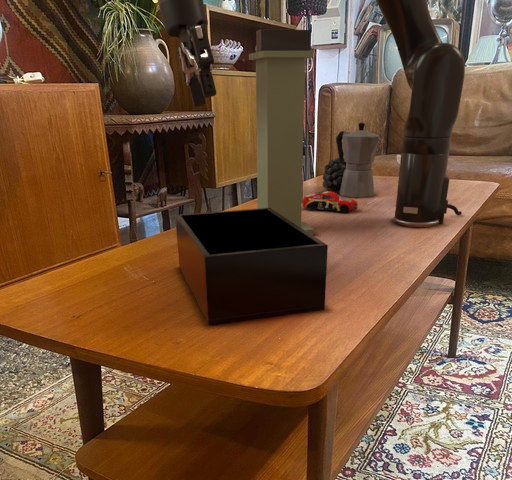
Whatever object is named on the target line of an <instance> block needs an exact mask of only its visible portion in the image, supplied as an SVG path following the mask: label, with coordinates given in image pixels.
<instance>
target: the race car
mask: <svg viewBox="0 0 512 480" xmlns="http://www.w3.org/2000/svg"><path fill="white" fill-rule="evenodd" d="M358 205H359V204H358V201H357V200H356V199H354V198H350V197H344V196H341V195H340V194H339V193H337V192H335V191H334V192H328V191H327V190H326V191H317V192H314V193H310V194H306V195H305V196H303V199H302V207H304V208H307V209H309V210H310V211H316V210H324V211H336V212H341V213H343V214H347V213H348V212H352V211H356V210H357V209H358V207H359V206H358Z"/></svg>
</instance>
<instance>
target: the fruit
mask: <svg viewBox="0 0 512 480" xmlns="http://www.w3.org/2000/svg"><path fill="white" fill-rule="evenodd" d="M343 159H344V157H343ZM345 169H346V164H342V163H340V160H339V157H335V158H334V159H333V160H332V159H331V160H329V161H328V162H327V164H325V165H324V171H323V175H322V180H323V181H322V184H321V185H322V187H323V188H326V191H328V192H335V191H336V192H340V188H341V183H342V179H343V174H344V170H345Z"/></svg>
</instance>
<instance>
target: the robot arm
mask: <svg viewBox="0 0 512 480" xmlns="http://www.w3.org/2000/svg"><path fill="white" fill-rule="evenodd" d="M375 2H376V3H377V7H378V9H379V10H380V13H381V14H382V16H383V19H384V21H385V22H386V24H387V26H388V28H389V30H390V32H391V35H392V37H393V40H394V42H395V46H396V48H397V52H398V55H399V59H400V61H401V65H402V68H403V72H404V76H405V80H406V82H407V85H408V87H409V89H410V90H411V93H410V101H409V108H408V109H409V110H408V114H407V117H406V120H405V121H404V125H403V135H402V142H401V153H400V156H401V162H400V164H399V170H398V171H399V173H398V182H397V190H396V200H395V208H394V209H395V210H394V216H393V222H394V223H395V224H397V225H400V226H404V227H409V228H410V227H411V228H430V227H436V226H439V225H441V226H442V225H444V220H445V215H446V214H447V212H448V209H449V210H452V211H453V212H454V214H455V215H456V216H461V215H462V214H463V211H460V210H459V209H458V208H457V206H455V205H453V204H449V200H448V192H449V186H450V177H449V176H447V171H448V170H447V169H448V163H449V156H450V150H451V142H452V135H453V129H454V126H455V124H456V122H457V119H458V116H459V115H458V114H459V111H460V106H461V99H462V94H463V88H464V82H465V72H466V71H465V70H466V63H465V58H464V55H463V53H462V51H461V50H460V49H459V48H458V47H457V46H456V45H454V44H452V43H449V42H443V40H442V38H441V36H440V35H439V33H438V30H437V28H436V26H435V23H434V22H433V19H432V16H431V12H430V10H429V6H428V0H375ZM157 3H158V8H159V12H160V15H161V19H162V23H163V27H164V31H165V34H166V35H167V36H168V37H171V38H178V41H179V46H178V48H176V55H177V59H178V63H179V67H180V72H181V77H182V82H183V83H184V85H187V86H188V88H189V93H190V96H191V100H192V104H193V106H194V107H195V108H198V107H202V106H205V105H206V99H208V98H211V97H215V96H216V95H217V88H216V85H215V80H214V77H213V72H212V71H213V65H214V64H215V59H214V55H213V51H212V48H211V47H212V46H211V44H210V39H209V35H208V32H207V27H208V23H209V20H208V16H207V11H206V8H205V4H204V0H157Z"/></svg>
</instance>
